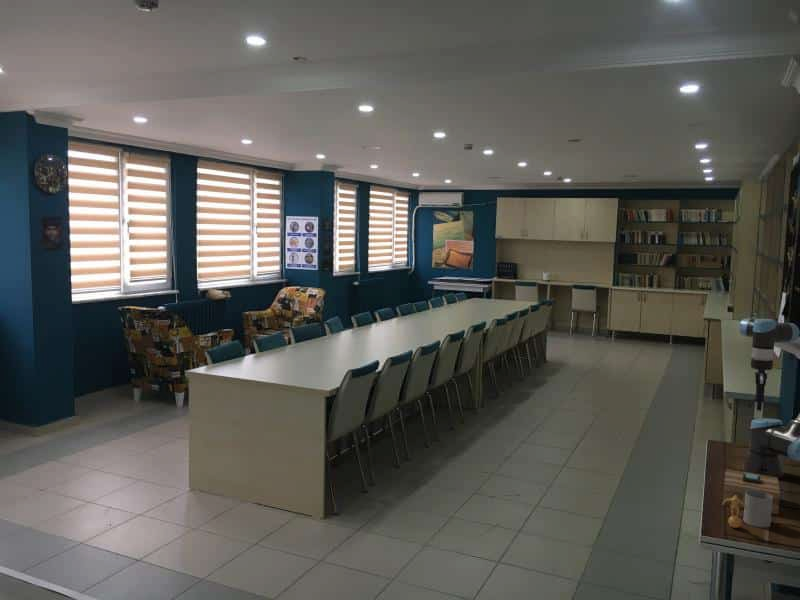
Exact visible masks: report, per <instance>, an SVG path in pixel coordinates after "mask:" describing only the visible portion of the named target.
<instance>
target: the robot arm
mask: <svg viewBox="0 0 800 600" xmlns="http://www.w3.org/2000/svg"><path fill="white" fill-rule="evenodd" d="M738 331H739V333H740V334H741V335H742V336H743V337H747V338H752V345H751V349H750V350H749V351H750V352H751V359H750V368H752V370H753V369H754V370H757V372H755V374H754V376H755V386H756V387H755V388H756V389H755V399H753V402H754V403H755V404H754V419H753V420H751V423H750V427H749V444H748V453H747V455H746V457H745V460H744V462H743V464H742V471H743V472H747V473H753V474H759V475H765V476H771V477H777V478H778V479H780V478H782V477H783V476H784V468H783V466H782V461H781V456H783V457H786V458H790V459H791V460H793V461H798V462H800V413H798V415H797V417H796V418H795V419H792V420H790V421H788V423H787V425H786V426H785V425H784V424H783V423H784V422H783V421H782V420H781V419H778V418H777V419H775V418H768V417H767V418H766V417H765V418H764V417H763V413H764V402H765V401H766V399H765V387H766V384H767V378H768V374H767V373H766V371H771V370H773V367H774V365H773V364H774V361H773V359H774V357H775V356H774V355H775V348H778V349H781V350H783V351H786V352H788V353H790V354H793V355H795V357H796V358H797V359H799V360H800V329H799V327H798V326H797V325H796V324H795V323H792V322H777V321H776V320H775V319H771V318H752V317H750V318H747V317H746V318H744V319H741V320H740V322H739V325H738Z"/></svg>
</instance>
